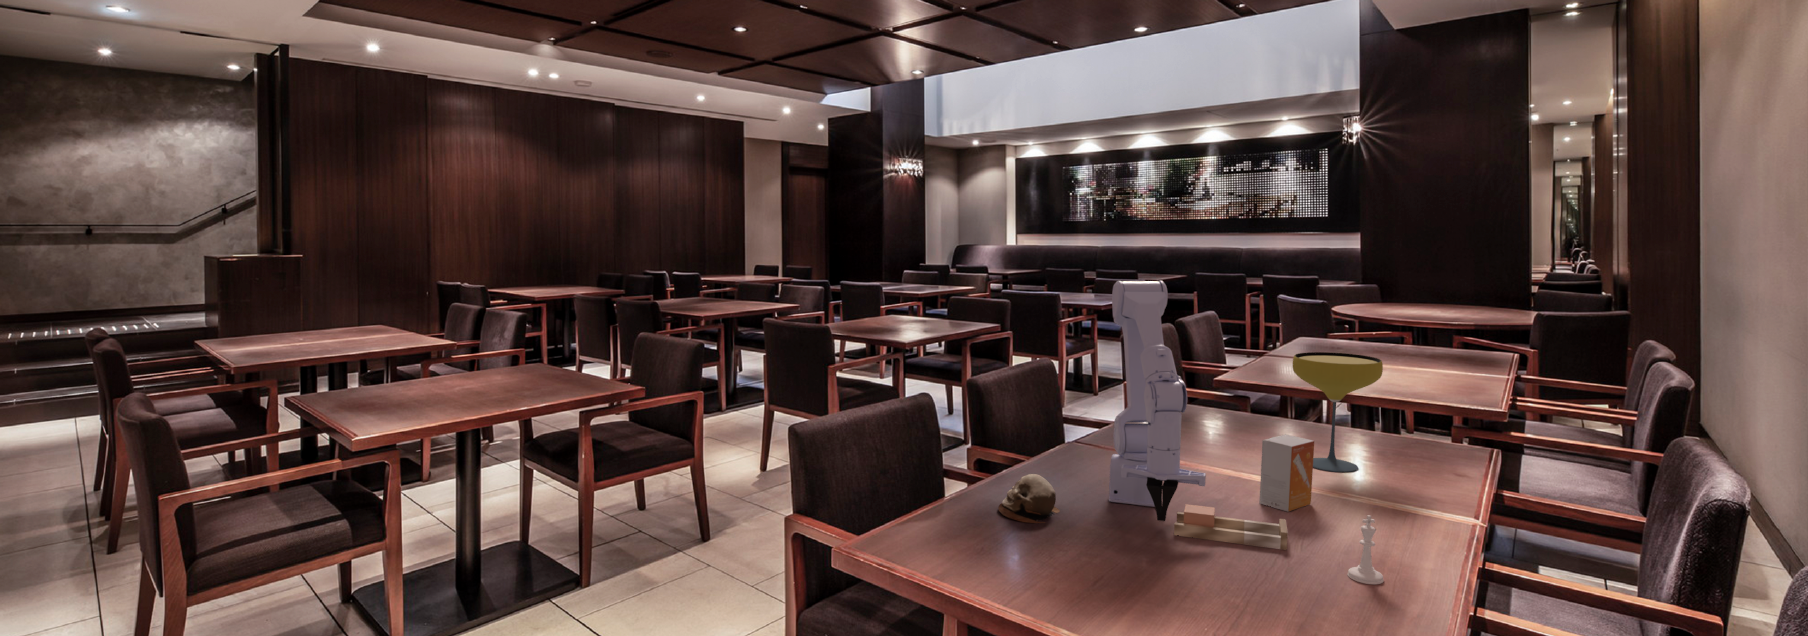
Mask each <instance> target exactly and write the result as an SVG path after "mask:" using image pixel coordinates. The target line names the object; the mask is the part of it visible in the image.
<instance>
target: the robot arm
mask: <svg viewBox="0 0 1808 636" xmlns="http://www.w3.org/2000/svg"><path fill="white" fill-rule="evenodd" d="M1168 296H1169V295H1168V288H1167V285H1166V283H1165V282H1164V281H1163V280H1157V281H1153V280H1152V281H1151V280H1150V281H1149V280H1148V281H1145V280H1144V281H1138V280H1137V281H1136V280H1135V281H1133V280H1132V281H1121V280H1117V281H1116V282H1115V283H1114V284H1113V286H1112V295H1111V301H1112V302H1111V305H1112V318H1113V322H1114V323H1115V324H1116V325H1118V326H1120V328H1121V331H1122V335H1123V344H1124V345H1123V347H1124V361H1125V362H1124V363H1125V364H1124V366H1125V367H1124V368H1125V384H1126V398H1127V399H1126V400H1127V403H1126V404H1127V406H1126V408H1125V409H1123V410H1122V411H1121V412H1120V413H1118V414H1117V415H1116V416H1115V418H1114V422H1113V423H1114V425H1113V428H1114V429H1113V437H1112V439H1113V447H1114V450H1115V452H1116V453H1112V454H1111V457H1110V463H1109V464H1110V465H1109V483H1108V484H1109V485H1108V489H1109V491H1108V492H1109V495H1108V502H1110V503H1111V502H1112V503H1119V504H1127V505H1134V506H1135V505H1136V506H1143V507H1144V506H1145V507H1152V508H1154V509H1155V513H1156V521H1159V522H1166V519H1167V513H1168V508H1169V506H1170V503H1171V501H1172V499H1173V497H1174V496H1175V493H1176V491H1177V489H1178V485H1179V484H1180V483H1182V484H1189V485H1198V487H1206V479H1207V478H1206V475H1207V473H1206V472H1199V471H1194V470H1187V469H1184V468H1181V466H1180V465H1181V438H1182V437H1181V435H1182V413H1185V412H1186V410H1187V406H1188V391H1187V385H1186V383H1185V382H1184V380H1183V379H1182V376H1180V375H1178V374H1177V373H1178V372H1177V369H1176V364H1175V359H1174V356H1173V351H1172V350H1171V348H1169V347H1168V346H1166V345H1165V344H1164V343H1165V341H1164V333H1163V326H1162V316H1163V315H1164V313H1165V309H1166V307H1167V305H1168V298H1169V297H1168Z"/></svg>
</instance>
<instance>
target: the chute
mask: <svg viewBox="0 0 1808 636" xmlns="http://www.w3.org/2000/svg"><path fill="white" fill-rule="evenodd" d="M1173 524H1174V525H1173V526H1174V527H1173V536H1177V535H1179V537H1186V538H1192V537H1193V538H1194V539H1201V540H1206V541H1207V540H1208V541H1215V542H1221V543H1222V542H1224V543H1232V544H1238V545H1247V546H1254V547H1262V548H1269V549H1277V550H1285V551H1287V549H1288V535H1289V534H1288V526H1287V520H1286V519H1285V518H1279V521H1278V523H1275V522H1274V523H1272V522H1266V521H1257V520H1249V519H1240V518H1233V517H1225V516H1224V517H1223V516H1215V518H1214V527H1207V526H1199V525H1192V524H1184V511H1183V512H1182V511H1177V512H1176V521H1175V522H1174V523H1173Z"/></svg>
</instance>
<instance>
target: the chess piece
mask: <svg viewBox="0 0 1808 636" xmlns="http://www.w3.org/2000/svg"><path fill="white" fill-rule="evenodd" d="M1375 521H1376V520H1375V519H1373V518H1372V515H1369V514H1368V515H1366V518H1362V523H1363V525H1361V526H1360V530H1361V534H1362V537H1363V539H1360V540H1359V541H1358V542H1359V544H1361V545H1362V548H1363V549H1362V554H1361V558H1360V562H1359V564H1358V565H1357V566H1352V567H1350V568H1349V569H1348V571H1347V577H1348V578H1350V579H1351V580H1353V581H1355V582H1357V583H1361V584H1366V585H1380V584H1383V583H1384V575H1383V574H1382V573H1381V572H1380V571H1377V570H1376V569H1375V567H1374V566H1373V561H1372V548H1371V547H1375V546H1376V543H1375V541H1374V540H1372V539H1373V537H1374V536H1375V533H1376V528H1375V527H1374V526H1372V525H1371V524H1372V523H1373V524H1374V523H1375ZM1364 524H1365V525H1364Z"/></svg>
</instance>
